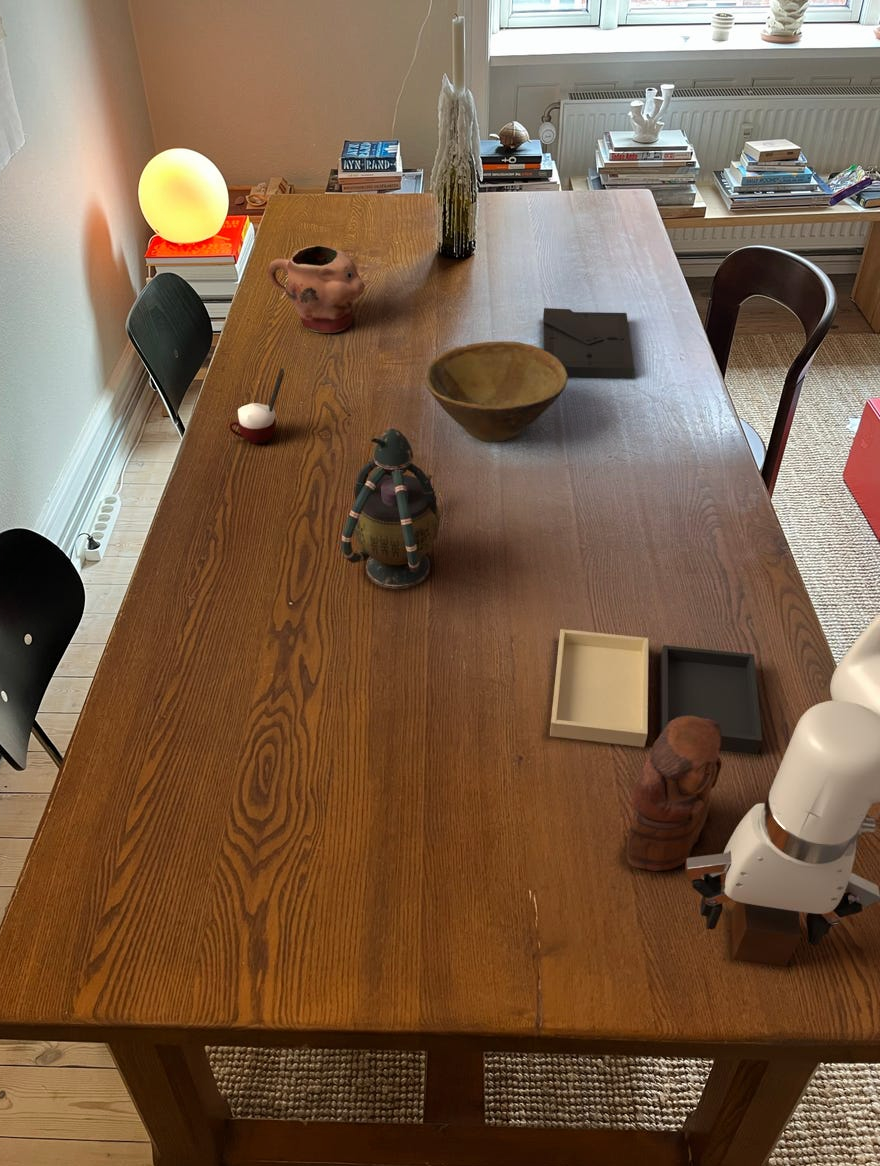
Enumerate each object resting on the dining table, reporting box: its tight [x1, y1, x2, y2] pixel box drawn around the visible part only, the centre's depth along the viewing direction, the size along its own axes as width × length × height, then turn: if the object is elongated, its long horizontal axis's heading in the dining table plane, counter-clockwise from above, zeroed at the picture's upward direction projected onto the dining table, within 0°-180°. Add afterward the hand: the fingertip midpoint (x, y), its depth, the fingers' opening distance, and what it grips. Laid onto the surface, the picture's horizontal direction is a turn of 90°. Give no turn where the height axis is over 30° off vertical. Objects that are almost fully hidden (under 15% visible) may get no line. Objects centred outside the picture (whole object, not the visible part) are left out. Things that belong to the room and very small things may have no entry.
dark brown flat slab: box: [542, 307, 635, 380], centre depth 185 cm, size 16×3×21 cm
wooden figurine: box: [626, 715, 723, 872], centre depth 103 cm, size 12×6×18 cm, turn 144°
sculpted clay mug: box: [267, 245, 366, 334], centre depth 192 cm, size 20×12×14 cm, turn 73°
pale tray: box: [549, 628, 649, 748], centre depth 124 cm, size 11×16×2 cm
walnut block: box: [730, 901, 802, 967], centre depth 99 cm, size 5×5×6 cm
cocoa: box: [229, 368, 285, 445], centre depth 164 cm, size 10×6×12 cm, turn 78°
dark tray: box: [659, 644, 763, 755], centre depth 122 cm, size 11×14×2 cm
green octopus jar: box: [340, 427, 441, 590], centre depth 138 cm, size 12×25×23 cm, turn 165°
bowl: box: [424, 340, 569, 443], centre depth 165 cm, size 22×23×10 cm
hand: (760, 924), depth 98 cm, fingers open, 9 cm apart
